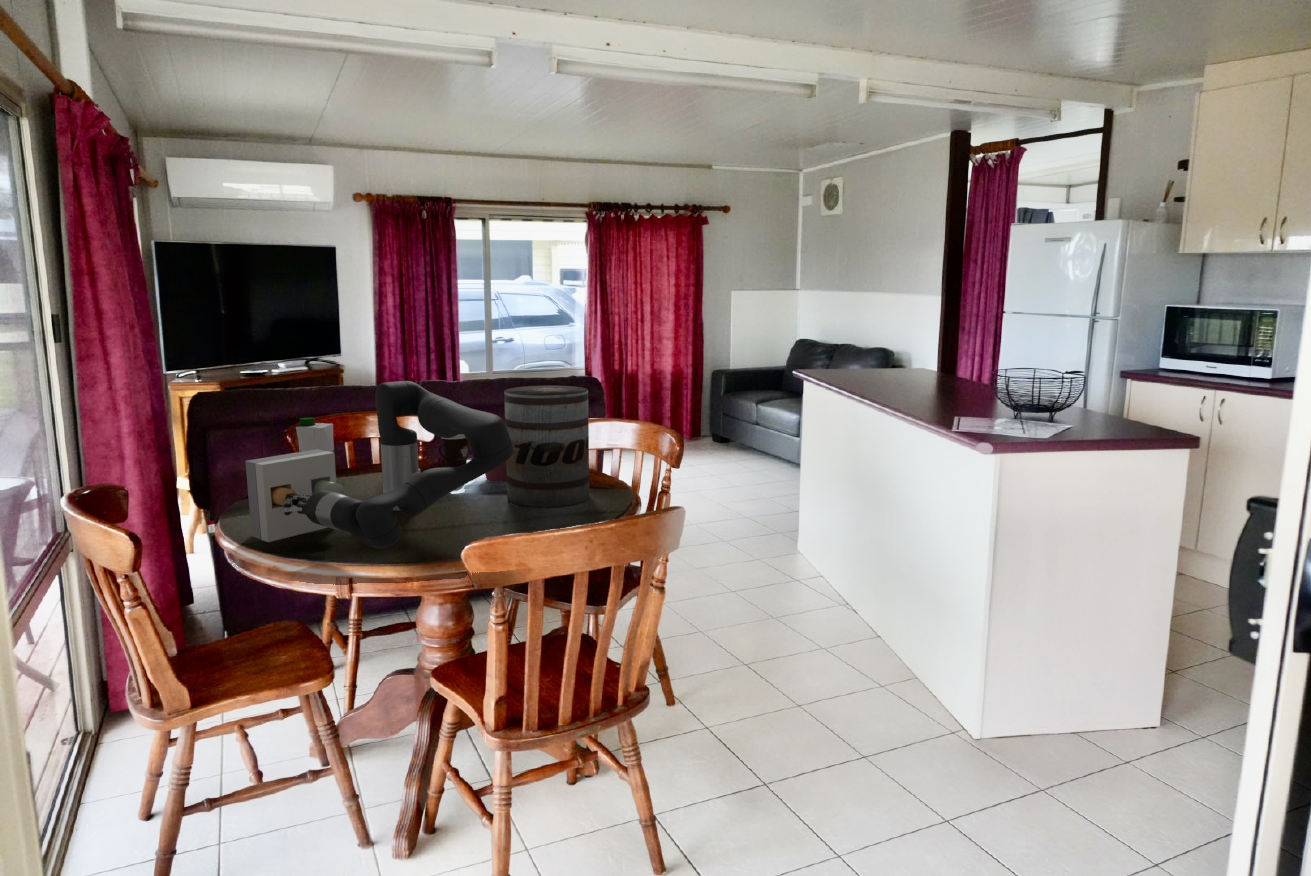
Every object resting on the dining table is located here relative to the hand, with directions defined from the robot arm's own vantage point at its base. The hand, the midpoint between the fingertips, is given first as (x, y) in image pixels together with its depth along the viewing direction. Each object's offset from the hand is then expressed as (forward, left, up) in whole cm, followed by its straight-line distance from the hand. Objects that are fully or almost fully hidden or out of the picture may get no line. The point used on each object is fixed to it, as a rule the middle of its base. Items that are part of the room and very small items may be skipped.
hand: (289, 498), depth 193 cm
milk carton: (+12, -55, -10) cm, 57 cm away
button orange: (+2, -2, -2) cm, 4 cm away
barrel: (-56, -38, -10) cm, 68 cm away
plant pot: (-40, -62, -10) cm, 74 cm away
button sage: (-6, -8, -2) cm, 10 cm away
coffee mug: (-22, -79, -10) cm, 82 cm away
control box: (+2, -8, -10) cm, 13 cm away
